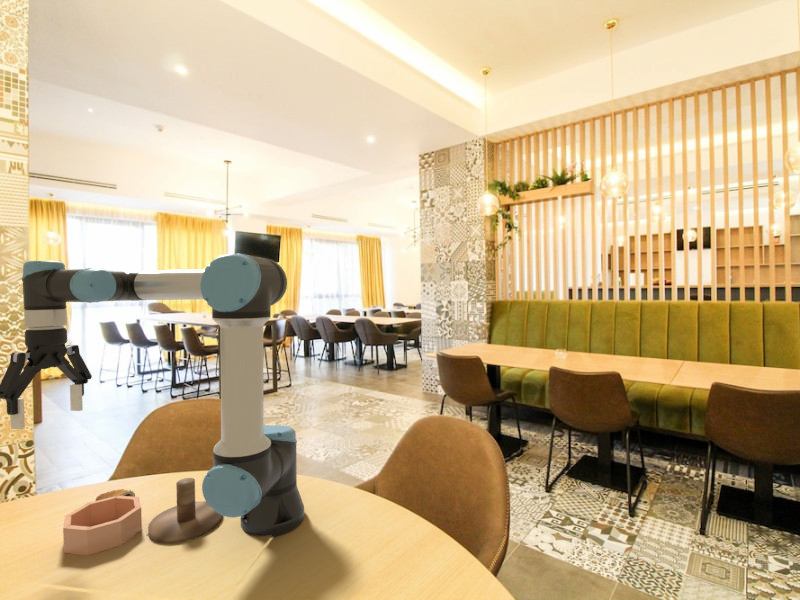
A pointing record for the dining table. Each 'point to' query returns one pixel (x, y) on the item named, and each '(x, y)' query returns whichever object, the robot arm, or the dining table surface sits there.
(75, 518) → the bowl
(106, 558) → the dining table surface
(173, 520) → the lid
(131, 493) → the pastry
